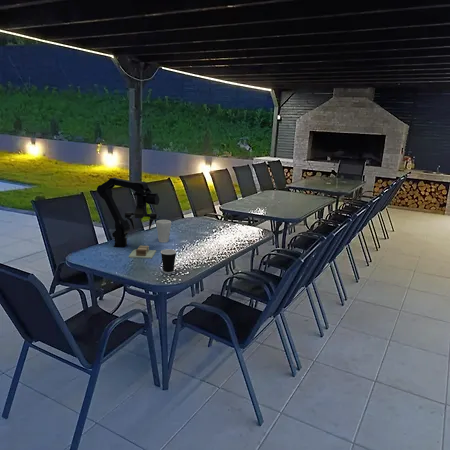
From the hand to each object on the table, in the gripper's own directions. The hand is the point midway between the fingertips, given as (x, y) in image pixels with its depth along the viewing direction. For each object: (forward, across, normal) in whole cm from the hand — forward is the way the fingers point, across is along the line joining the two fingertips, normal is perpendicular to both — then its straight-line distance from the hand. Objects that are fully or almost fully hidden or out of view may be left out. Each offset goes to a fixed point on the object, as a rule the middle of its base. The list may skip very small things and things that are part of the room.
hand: (141, 229), depth 235 cm
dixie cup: (+12, +22, -37) cm, 45 cm away
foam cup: (+12, +10, +18) cm, 24 cm away
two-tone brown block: (+11, +3, -11) cm, 16 cm away
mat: (+12, +3, -11) cm, 17 cm away
